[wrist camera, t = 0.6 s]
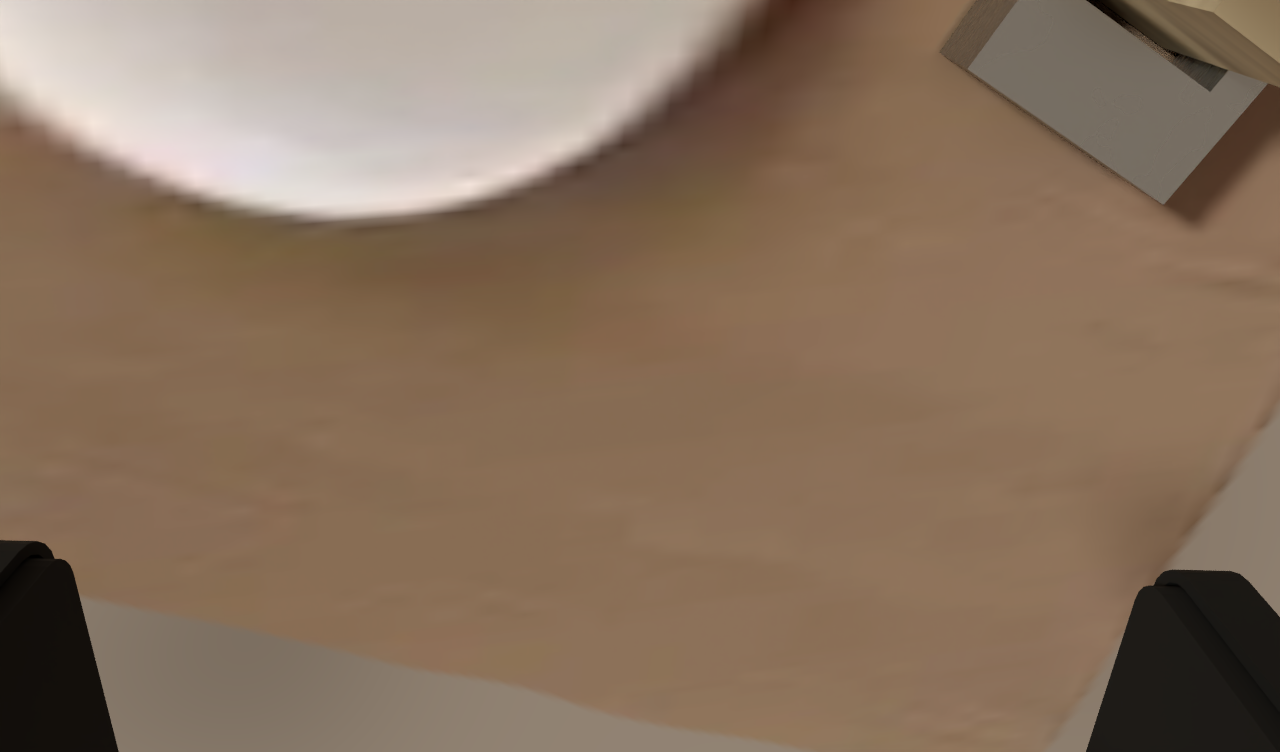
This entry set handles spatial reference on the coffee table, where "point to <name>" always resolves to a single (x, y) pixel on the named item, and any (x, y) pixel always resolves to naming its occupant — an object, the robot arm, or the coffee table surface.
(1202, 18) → the birch peg
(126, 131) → the coffee table surface
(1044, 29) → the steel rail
